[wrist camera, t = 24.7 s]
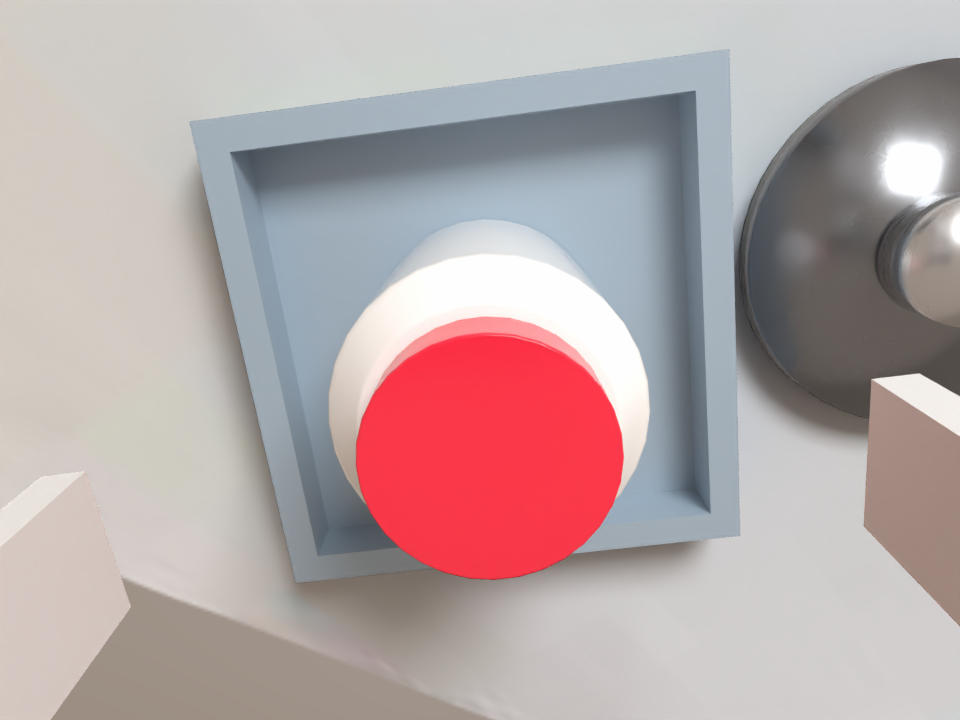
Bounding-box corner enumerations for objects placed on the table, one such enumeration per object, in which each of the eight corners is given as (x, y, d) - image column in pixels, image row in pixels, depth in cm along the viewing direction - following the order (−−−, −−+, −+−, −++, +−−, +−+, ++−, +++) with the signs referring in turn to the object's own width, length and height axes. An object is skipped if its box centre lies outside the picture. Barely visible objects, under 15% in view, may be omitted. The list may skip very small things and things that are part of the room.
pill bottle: (597, 428, 26) (674, 620, 15) (386, 436, 26) (319, 631, 16) (598, 214, 24) (689, 266, 13) (368, 223, 24) (276, 282, 13)
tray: (311, 546, 28) (295, 583, 26) (219, 124, 24) (189, 121, 21) (717, 501, 28) (740, 535, 25) (703, 59, 23) (729, 49, 21)
